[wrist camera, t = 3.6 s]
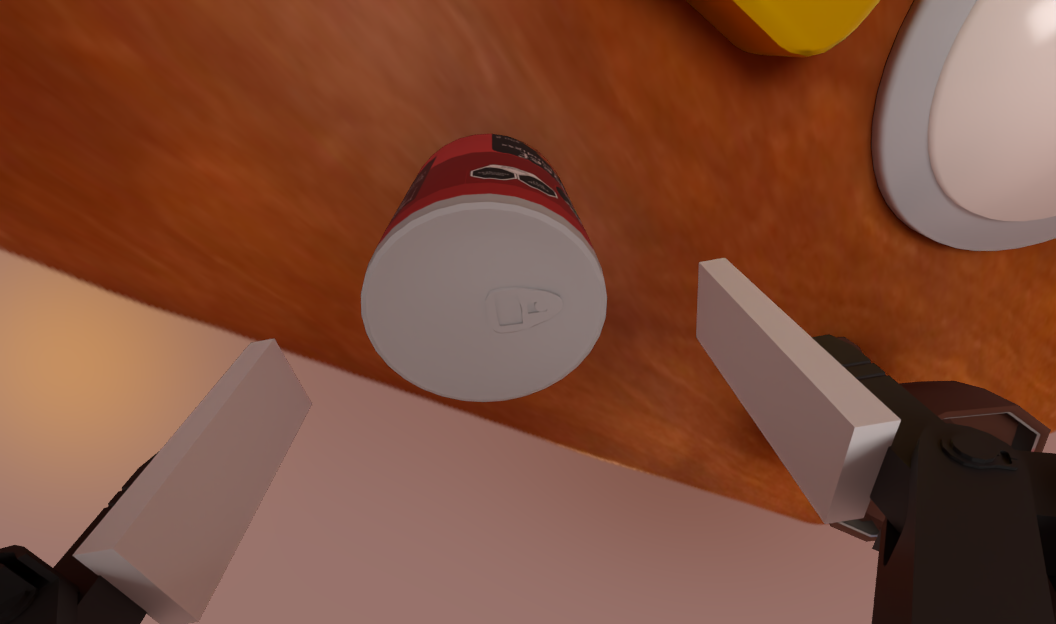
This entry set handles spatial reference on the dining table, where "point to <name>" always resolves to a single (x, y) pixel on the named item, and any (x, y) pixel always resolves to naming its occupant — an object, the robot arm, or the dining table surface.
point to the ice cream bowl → (963, 409)
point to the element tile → (784, 23)
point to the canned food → (484, 276)
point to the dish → (971, 123)
